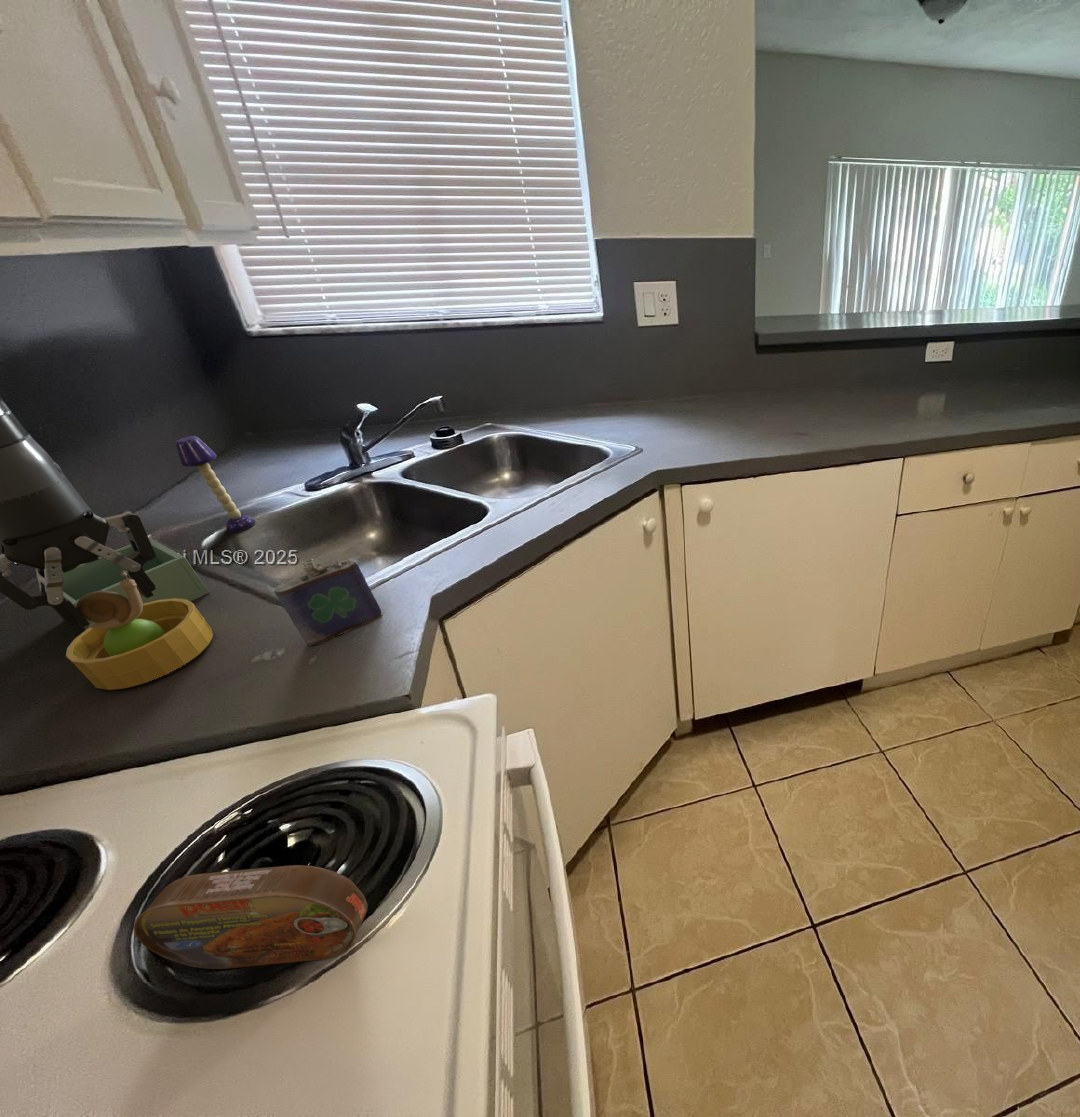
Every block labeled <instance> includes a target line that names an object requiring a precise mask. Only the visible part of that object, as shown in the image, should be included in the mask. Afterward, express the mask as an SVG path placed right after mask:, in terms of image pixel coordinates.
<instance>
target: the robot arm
mask: <svg viewBox="0 0 1080 1117" xmlns="http://www.w3.org/2000/svg"><path fill="white" fill-rule="evenodd" d="M111 527H112V528H115V530H116V531H119V532H120V533H123V534H125V535H126V537H127V540H128V541H129V543H130V544H131V546H132V548H133V550H134V552H133V553H132V554H131V555H129V556H128V557H126V556H124V555H122V554H120V553H119V552H117V551H115V550H116V549H113V548H111V547H109V546H107V545H106V544H107V540H108V535H109V531H110V528H111ZM149 538H150V537H149V536H148V534H147V531H146V529H145V527H144V524H143V521H142V519H141V518H140V516H139V515H137V514H135V513H133V512H131V511H129V510H121V511H120V512H119V513H118V514H116V515H112V516H107V517H101V516H100V515H97V514H96V513H95V512H93V511H92V509H91V508H90V506H89V505H88V504H87V503H86V501H85V500H84V498H83V497H82V496H81V495H80V493H79V492H78V491H77V489H76V488H75V486H73V485H72V483H71V482H70V481H69V479H68V478H67V477H66V475H65V473H63V470H62V467H61V466H60V465H59V464H58V463H56V462H55V461H54V459H53V458H52V457H51V455H49V453H48V452H47V451H46V450H45V449H44V448H43V447H42V446H41V445H40V444H39V443H38V442H37V441H36V440H35V439H34V438H33V437H32V436H31V434H30V433H29V432H28V431H27V429H26V428H25V427H24V426H23V424H22V423H21V422H20V421H19V419H18V418H17V417H16V415H15V414H14V412H13V411H12V410H11V409H10V407H9V405H7V403H6V402H5V401H4V400H3V398H2V396H1V395H0V546H1V554H0V593H1V594H3V595H4V596H5V597H7V598H9V599H10V600H11V601H13V602H14V603H16V604H17V605H18V606H20V607H21V608H22V609H24V610H27V611H30V610H33V609H36V608H39V607H43V606H48V607H51V608H52V609H53V610H54V611H55V612H56V614H57V615H58V616H59V617H60V618H61V619H62V621H64V623H66V624H67V625H69V626H72V627H75V626H77V625H78V626H79V627H81V628H82V629H84V628H83V627H85V626H88V625H90V624H89V622H88V621H87V620H86V619H85V618H84V617H83V615H82V614H81V613H80V612H79V611H78V610H77V609H76V607H75V606H74V605H73V604H72V603H71V602H70V601H69V600H68V599H67V598H65V597H64V596H63V588H62V585H63V574H62V572H64V573H65V572H68V571H70V570H73V569H75V568H76V567H78V566H79V565H81V564H86V563H91V562H93V561H96V560H99V557H102V558H104V559H106V560H108V561H110V562H112V563H114V564H116V565H118V566H120V567H122V568H124V569H126V570H127V571H128V573H127V574H128V575H129V576H128V575H126V576H127V577H128V579H129V577H130V578H131V579H133V580H134V581H135V583H136V584H137V589H138V591H139V593H140V594H141V595H142V596H144V597H145V598H149V597H152V596H154V595H153V593H152V592H151V591H154V590H156V589H155V585H154V583H153V582H152V581H151V580H150V578H149V577H148V576H147V574H146V573H145V572H144V570H143V565H144V564H145V563H146V562H147V561H149V560H152V559H154V558H155V556H156V555H155V552H154V550H153V547H152V545H151V543H150V540H149ZM130 544H129V545H130ZM12 563H14V564H19V565H22V566H25V567H30V568H33V569H35V571H36V572H35V573H36V578H37V582H38V581H39V582H38V587H39V591H35V592H30V593H28V592H26V591H25V590H24V589H23V588H21V587H20V586H19V585H17V584H16V583H14V582H13V581H11V580H10V579H9V578H10V577H12V575H13V571H12V569H10V565H11V564H12Z"/></svg>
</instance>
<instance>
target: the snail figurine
mask: <svg viewBox="0 0 1080 1117" xmlns="http://www.w3.org/2000/svg"><path fill="white" fill-rule="evenodd" d="M127 573H128V571H127V570H126V569H123V570H122V572H121V576H126V575H128V574H127ZM128 576H129V575H128ZM126 578H127V576H126ZM120 587H121V588H122V589H123V590H124V591H125V592H126V595H127V598H128V599H127V598H125V597H124V596H123V595H121V594H118V593H115V592H111V591H96V592H91V593H88V594H86V595H84V596H83V597H81V598H80V599H79V600H78V602H77V604H76V609H77V610H78V611H79V612H80V613H81V614H82V615H83V617H84V618H85V619H86V620H88V621H92V622H98V623H94V624H91V625H89V627H91V628H94V629H99V630H109V631H108V632H107V633H106V635H105V638H104V648H105V650H106V652H107V653H108V654H109V655H110V656H115V655H118V654H122V653H125V652H128V651H131V650H133V649H136V648H139V647H141V646H144V645H146V644H148V643H150V642H152V641H154V640H156V639H158V638H160V637H161V636H163V635H164V634H165V632H164V630H163V629H162V628H161V627H160V626H159V625H158V624H156V623H154V622H152V621H149V620H145V619H136V618H137V617H139V616H140V614H141V613H142V610H143V603H142V599H141V596H140V593H139V591H138V589H137V584H136V583H135V581H134V580H133V579H131V578H130V577H129V579H128V578H127V579H124V580H122V581H121V582H120Z"/></svg>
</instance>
